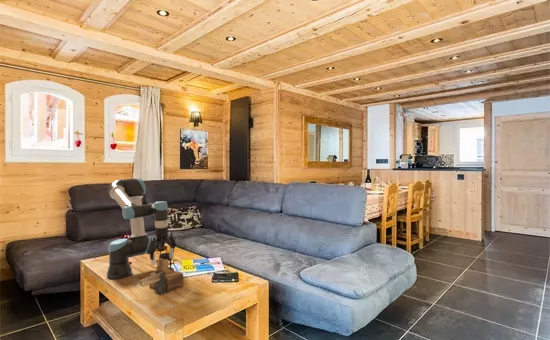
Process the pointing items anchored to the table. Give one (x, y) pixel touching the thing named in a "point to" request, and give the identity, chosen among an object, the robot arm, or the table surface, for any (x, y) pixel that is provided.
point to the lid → (166, 269)
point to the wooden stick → (150, 279)
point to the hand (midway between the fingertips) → (162, 261)
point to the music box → (165, 256)
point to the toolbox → (166, 284)
